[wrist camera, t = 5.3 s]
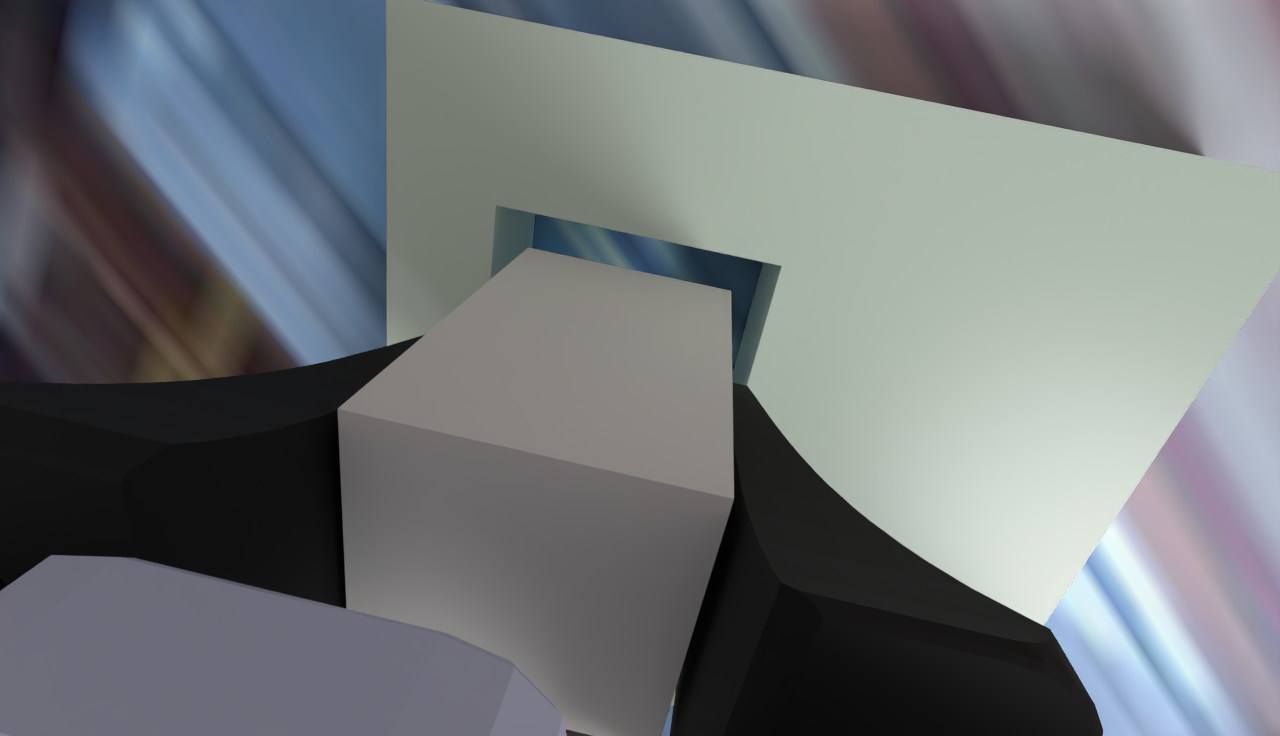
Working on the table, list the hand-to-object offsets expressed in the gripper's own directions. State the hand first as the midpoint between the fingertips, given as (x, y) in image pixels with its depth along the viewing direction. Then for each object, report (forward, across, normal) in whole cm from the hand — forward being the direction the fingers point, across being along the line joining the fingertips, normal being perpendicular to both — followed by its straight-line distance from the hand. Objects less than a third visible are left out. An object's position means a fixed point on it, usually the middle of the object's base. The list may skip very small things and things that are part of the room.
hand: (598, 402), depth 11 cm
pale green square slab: (+5, -3, +2) cm, 6 cm away
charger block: (+2, 0, 0) cm, 2 cm away
